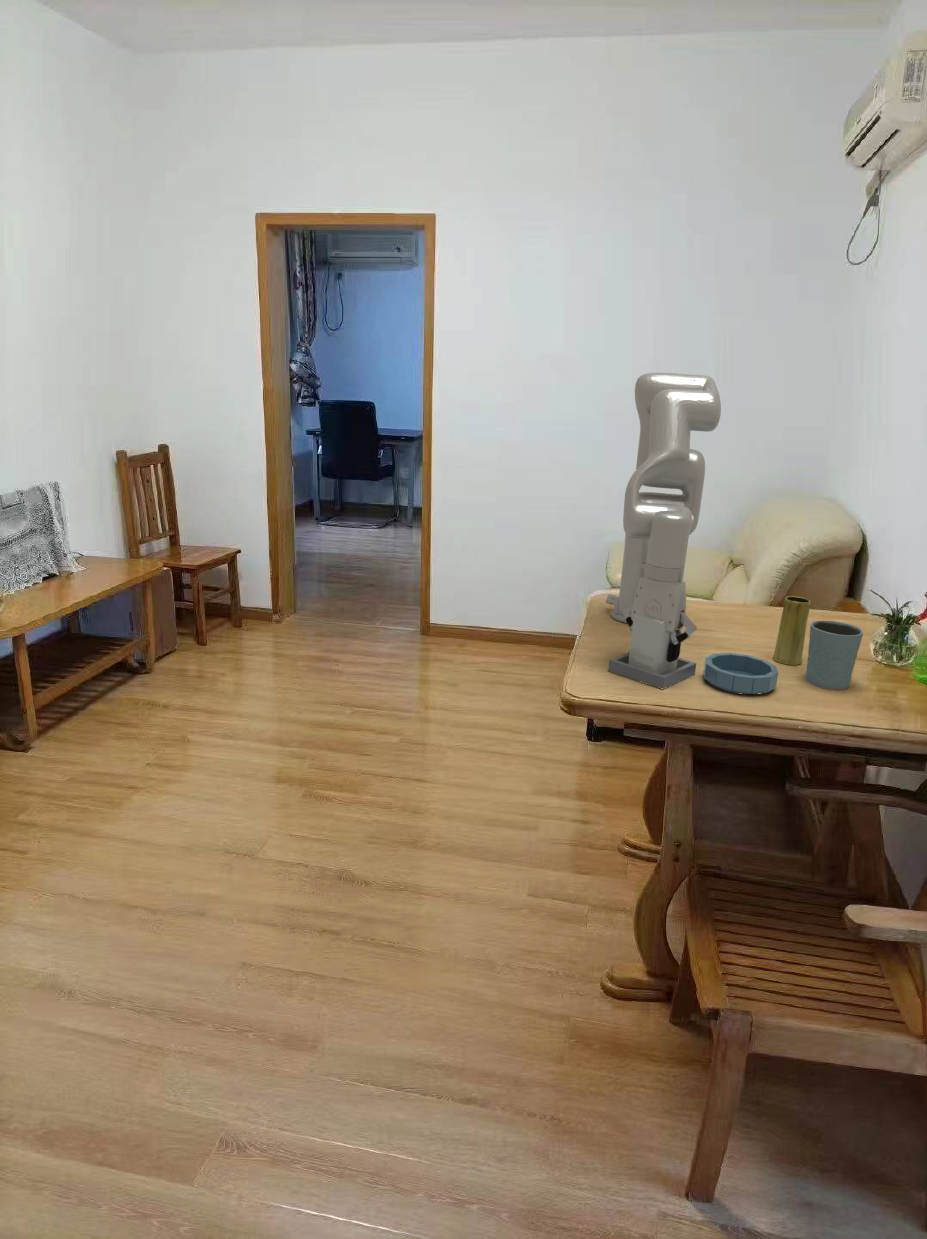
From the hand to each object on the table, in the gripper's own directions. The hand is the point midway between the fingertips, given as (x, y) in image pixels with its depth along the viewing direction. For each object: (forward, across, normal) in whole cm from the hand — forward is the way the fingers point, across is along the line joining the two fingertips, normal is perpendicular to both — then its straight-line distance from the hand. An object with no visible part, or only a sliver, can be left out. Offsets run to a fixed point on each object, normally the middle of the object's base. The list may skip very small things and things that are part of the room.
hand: (653, 654), depth 177 cm
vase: (+4, +16, +31) cm, 35 cm away
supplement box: (+4, 0, 0) cm, 4 cm away
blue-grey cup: (+4, +27, +25) cm, 37 cm away
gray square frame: (+4, 0, 0) cm, 4 cm away
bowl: (+4, +15, +9) cm, 18 cm away
